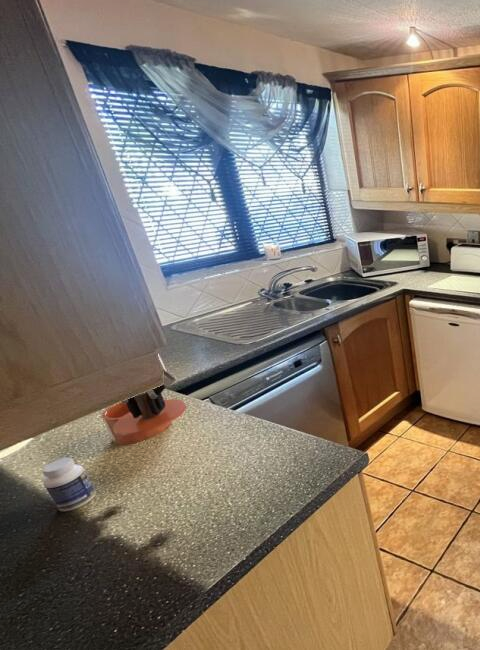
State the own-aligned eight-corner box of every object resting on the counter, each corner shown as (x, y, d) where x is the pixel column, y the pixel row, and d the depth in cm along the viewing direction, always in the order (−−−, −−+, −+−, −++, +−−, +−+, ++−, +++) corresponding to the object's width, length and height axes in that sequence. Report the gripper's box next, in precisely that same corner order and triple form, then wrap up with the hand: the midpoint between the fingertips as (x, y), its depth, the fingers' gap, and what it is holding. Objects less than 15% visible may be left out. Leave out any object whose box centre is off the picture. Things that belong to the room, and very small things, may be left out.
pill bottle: (100, 497, 80) (80, 460, 77) (63, 516, 76) (40, 478, 72) (91, 487, 83) (72, 451, 79) (55, 505, 78) (33, 468, 75)
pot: (102, 448, 94) (90, 423, 91) (130, 420, 104) (119, 397, 101) (158, 438, 97) (147, 414, 94) (180, 412, 107) (171, 389, 105)
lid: (100, 442, 79) (86, 414, 77) (135, 408, 90) (124, 382, 88) (171, 430, 83) (160, 402, 80) (197, 398, 94) (187, 373, 91)
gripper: (53, 353, 74) (93, 430, 80) (155, 340, 78) (185, 415, 85) (81, 337, 80) (115, 410, 87) (174, 326, 85) (200, 396, 91)
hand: (149, 412), depth 86 cm, fingers closed on lid, 3 cm apart
